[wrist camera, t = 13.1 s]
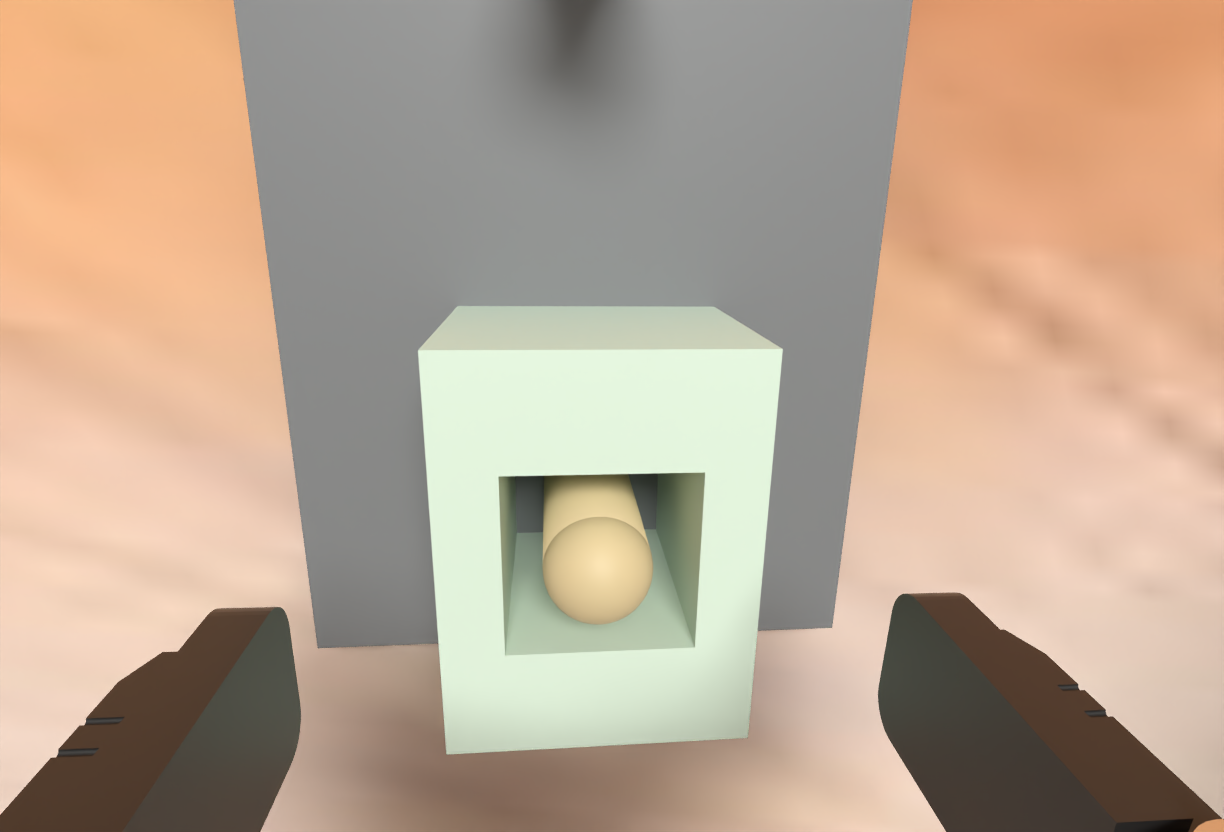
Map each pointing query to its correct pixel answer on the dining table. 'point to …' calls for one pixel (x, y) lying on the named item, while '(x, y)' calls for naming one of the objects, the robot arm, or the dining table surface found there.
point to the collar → (593, 445)
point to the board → (563, 253)
